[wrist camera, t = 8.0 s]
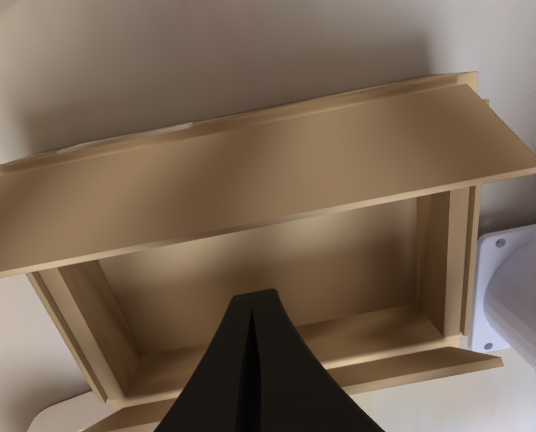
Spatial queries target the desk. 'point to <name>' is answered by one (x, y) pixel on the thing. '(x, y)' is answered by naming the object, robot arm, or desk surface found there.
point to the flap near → (255, 178)
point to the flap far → (348, 377)
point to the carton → (268, 272)
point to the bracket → (72, 414)
